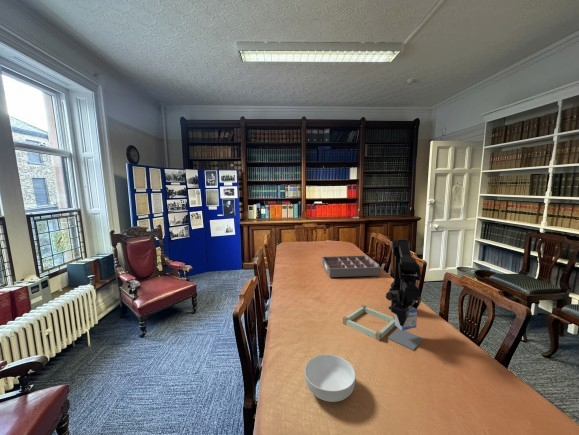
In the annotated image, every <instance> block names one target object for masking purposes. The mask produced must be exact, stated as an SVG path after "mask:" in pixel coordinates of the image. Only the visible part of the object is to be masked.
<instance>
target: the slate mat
mask: <svg viewBox="0 0 579 435" xmlns="http://www.w3.org/2000/svg"><path fill="white" fill-rule="evenodd" d="M423 338H424V337H422V336H419V335H417V334H415V333H412V332H410V331H407V330H403V331H402V330H401V329H399V328H398V327H397V328H396V329H395V330H394V331H393V332H392V333H390V335H389V336H387V339H388V341H389V340H390V341H391V342H394V343H396V344H399V345H400V346H403V347H404V348H407V349H409V350H411V351H414V350H415V349H416V348H418V346H419V344H420V343H421V342H422V341H423Z"/></svg>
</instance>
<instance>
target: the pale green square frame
mask: <svg viewBox="0 0 579 435" xmlns="http://www.w3.org/2000/svg"><path fill="white" fill-rule="evenodd" d="M364 313H365V314H368V315H371V316H373V317H375V318H378V319H380V320H383V321H384V322H388V323H387V324H386V325H385V326H383V327H382V328H381V329H380V330H377V331H375V330H372V329H371V328H368V327H366V326H364V325H363V324H362V325H361V324H359V323H357V322H355V321H354V320H355V319H357V318H358V317H359V316H360V315H362V314H364ZM342 324H343V325H345V326H347V327H349V328H352V329H354V330H356V331H358V332H360V333H362V334H364V335H366V336H369V337H370V338H372V339H375V340H376V341H378V342H380V341H381V340H382V339H383V338H384V337H385V336H386V335H387V334H388V333H389V332H391V331H392V329H393V328H395V327H396V326H395V316H390V315H388V314H385V313H382V312H380V311H378V310H376V309H372V308H369V307H367V305H365V304H361V305H360V307H359V308H358V309H356V310H354V311H353V312H351V313H350V314H348V315H347V316H343V317H342Z"/></svg>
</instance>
